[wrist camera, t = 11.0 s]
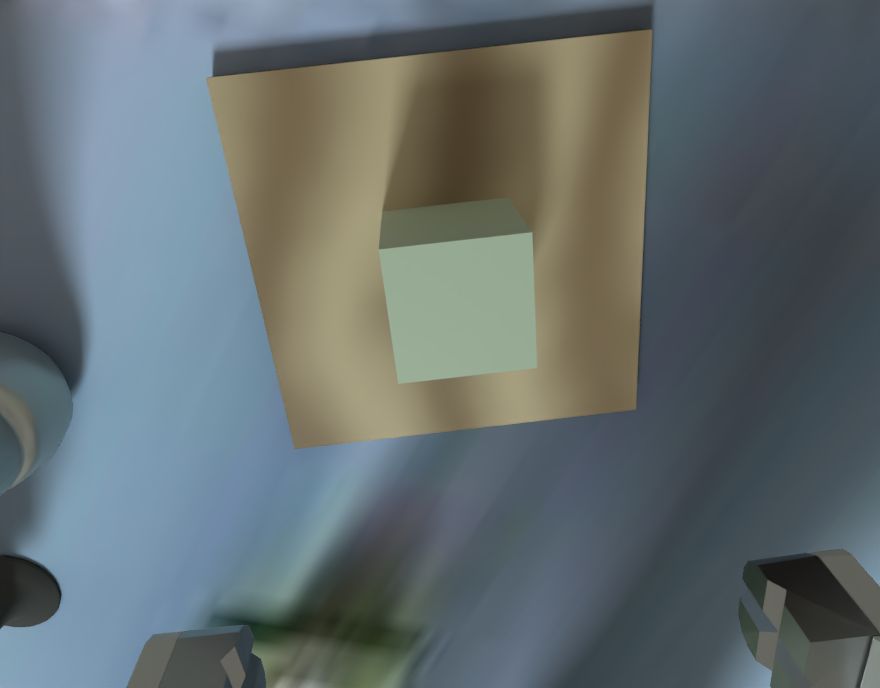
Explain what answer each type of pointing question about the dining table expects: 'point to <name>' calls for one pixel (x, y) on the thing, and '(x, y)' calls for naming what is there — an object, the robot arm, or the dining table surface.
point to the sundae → (26, 594)
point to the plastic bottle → (29, 409)
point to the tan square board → (437, 183)
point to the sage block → (459, 289)
